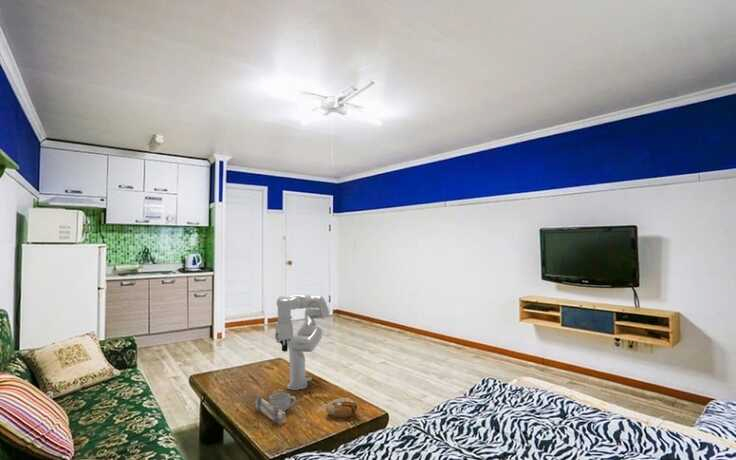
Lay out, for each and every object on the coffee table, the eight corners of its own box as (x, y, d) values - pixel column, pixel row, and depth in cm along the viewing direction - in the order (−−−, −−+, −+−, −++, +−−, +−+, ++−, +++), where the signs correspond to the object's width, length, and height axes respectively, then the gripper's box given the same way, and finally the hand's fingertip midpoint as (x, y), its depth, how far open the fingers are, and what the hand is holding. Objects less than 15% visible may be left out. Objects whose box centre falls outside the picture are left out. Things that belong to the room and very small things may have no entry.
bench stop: (260, 407, 204) (260, 392, 204) (285, 423, 185) (285, 406, 185) (253, 409, 201) (253, 394, 201) (277, 426, 182) (277, 409, 182)
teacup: (265, 413, 196) (265, 398, 196) (276, 405, 206) (276, 390, 206) (289, 417, 191) (288, 401, 192) (299, 408, 202) (299, 393, 202)
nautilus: (370, 419, 188) (347, 431, 178) (343, 404, 204) (321, 414, 194) (370, 404, 188) (347, 415, 178) (343, 390, 204) (320, 399, 193)
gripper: (291, 317, 227) (291, 347, 227) (269, 321, 217) (270, 353, 216) (298, 318, 222) (299, 349, 222) (276, 323, 211) (277, 355, 211)
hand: (284, 351), depth 219 cm, fingers closed
